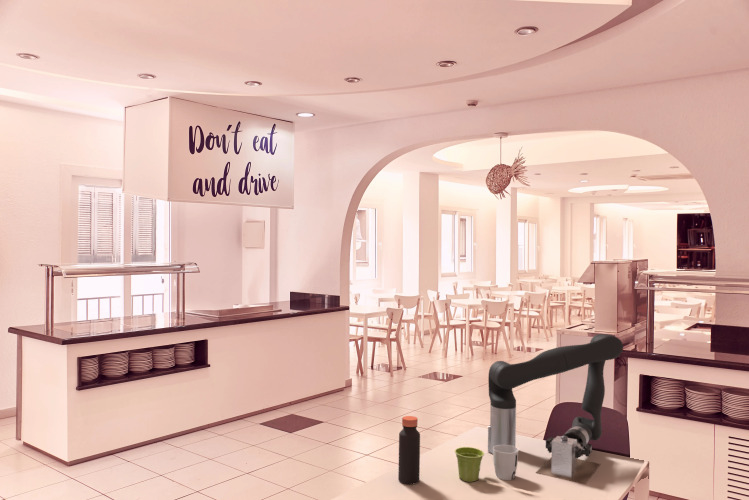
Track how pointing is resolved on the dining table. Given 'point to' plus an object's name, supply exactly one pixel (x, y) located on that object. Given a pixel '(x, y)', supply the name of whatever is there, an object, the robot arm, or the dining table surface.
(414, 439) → the bottle
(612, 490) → the dining table surface
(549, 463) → the walnut board
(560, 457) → the steel cover
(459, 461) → the plant pot
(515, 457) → the cup
